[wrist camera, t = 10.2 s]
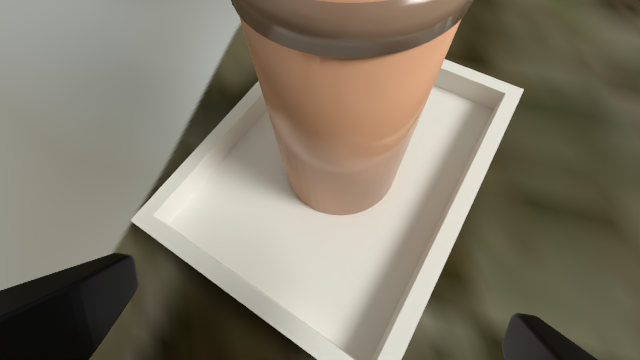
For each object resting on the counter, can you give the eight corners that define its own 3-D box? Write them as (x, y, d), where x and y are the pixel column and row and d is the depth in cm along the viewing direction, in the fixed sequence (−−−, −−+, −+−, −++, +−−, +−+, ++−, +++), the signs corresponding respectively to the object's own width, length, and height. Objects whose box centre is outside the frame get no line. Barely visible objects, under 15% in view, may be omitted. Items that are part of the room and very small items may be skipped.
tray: (372, 392, 14) (380, 406, 11) (156, 233, 17) (130, 220, 15) (502, 116, 20) (523, 89, 18) (322, 42, 24) (321, 12, 21)
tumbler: (395, 223, 16) (571, -64, 4) (274, 209, 16) (134, -77, 5) (398, 122, 19) (507, -215, 7) (294, 113, 19) (238, -210, 8)
